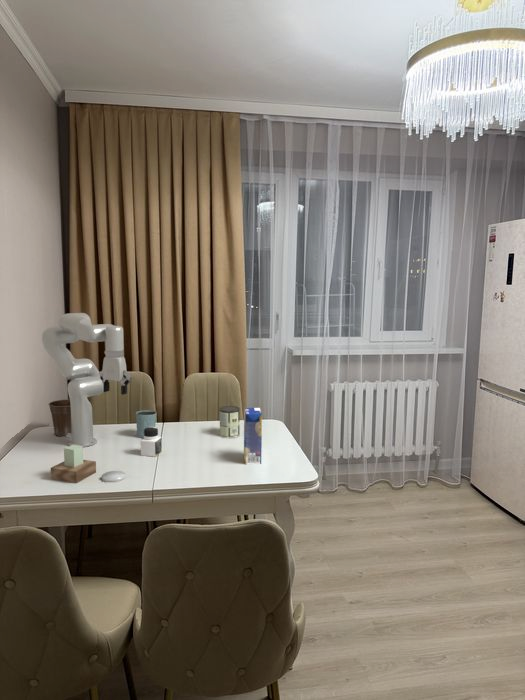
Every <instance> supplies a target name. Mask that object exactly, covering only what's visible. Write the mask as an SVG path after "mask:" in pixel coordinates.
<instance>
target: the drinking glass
mask: <svg viewBox="0 0 525 700" xmlns="http://www.w3.org/2000/svg"><path fill="white" fill-rule="evenodd" d="M135 421H136V422H135V423H136V435H137V438H139V439H143V438H145V437H144V429H145V428H147V427H156V425H157V424H156V421H157V411H154V410H148V409H147V410H146V409H144V410H139V411H138V410H137V411H136V412H135Z"/></svg>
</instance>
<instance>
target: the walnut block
mask: <svg viewBox="0 0 525 700" xmlns="http://www.w3.org/2000/svg"><path fill="white" fill-rule="evenodd" d="M96 473H97V461H95V460H88V459H83V464H81V465H78V466H76V467H70V466H65V465H64V461H62V462H60V463H57V464H55V465H54V466H52V467H50V480H53V479H55V481H60V482H66V483H67V482H68V483H71V484H78V483H80V482H81V481H84V480H85V479H87V478H89V477H91V476H92V475H94V474H96Z"/></svg>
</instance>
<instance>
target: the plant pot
mask: <svg viewBox="0 0 525 700" xmlns="http://www.w3.org/2000/svg"><path fill="white" fill-rule="evenodd" d="M48 406H49V409H50V413H51V418H52V424H53V425H52V426H53V432H54V435H55V436H56V435H59V437H61V436H66V435H67V434H68V433H72V428H71V406H70V398H67V399H66V398H65V399H59V400H53V401H51V402H49V403H48Z"/></svg>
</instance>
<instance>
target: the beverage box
mask: <svg viewBox="0 0 525 700" xmlns="http://www.w3.org/2000/svg"><path fill="white" fill-rule="evenodd" d="M262 417H263V414H262V411H261V407H244V408H243V459H244V464H245V465H261V464H262V445H263V444H262V443H263V442H262V439H263V438H262V436H263V435H262V433H263V432H262V431H263V429H262V427H263V420H262V419H263V418H262Z"/></svg>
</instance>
